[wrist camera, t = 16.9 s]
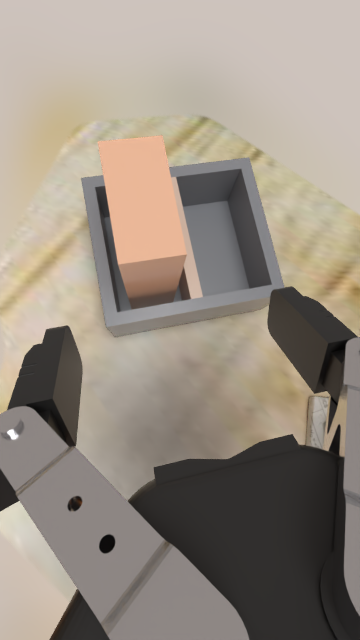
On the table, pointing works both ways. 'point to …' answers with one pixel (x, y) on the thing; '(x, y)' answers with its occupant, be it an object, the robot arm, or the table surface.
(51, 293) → the table surface
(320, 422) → the packaged product
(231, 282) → the grey open tray
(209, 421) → the table surface
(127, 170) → the salmon rectangular block
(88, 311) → the table surface
